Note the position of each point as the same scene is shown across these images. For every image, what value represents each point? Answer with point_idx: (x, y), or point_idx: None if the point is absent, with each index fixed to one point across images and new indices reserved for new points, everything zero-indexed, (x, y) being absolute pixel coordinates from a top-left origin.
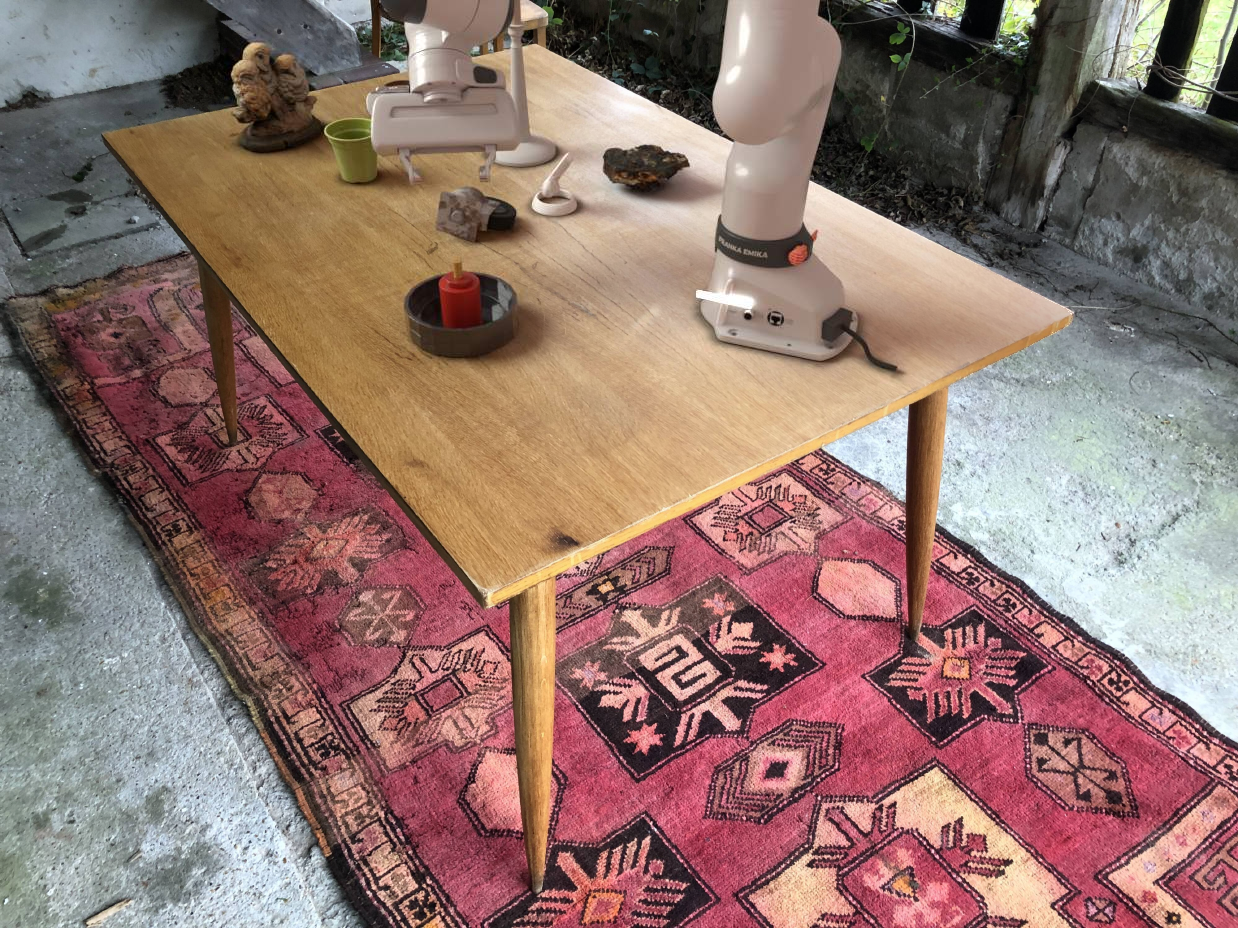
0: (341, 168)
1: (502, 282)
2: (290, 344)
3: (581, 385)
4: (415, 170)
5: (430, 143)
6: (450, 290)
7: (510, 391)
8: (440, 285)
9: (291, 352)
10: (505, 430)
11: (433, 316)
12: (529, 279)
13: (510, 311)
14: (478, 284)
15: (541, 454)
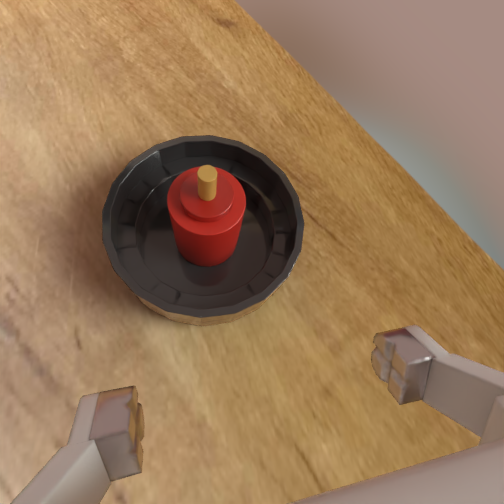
0: None
1: (131, 278)
2: (429, 206)
3: (30, 122)
4: (418, 354)
5: (436, 463)
6: (219, 171)
7: (130, 114)
8: (240, 186)
9: (420, 190)
10: (135, 56)
11: (258, 262)
12: None
13: (114, 184)
14: (168, 193)
15: (95, 23)
